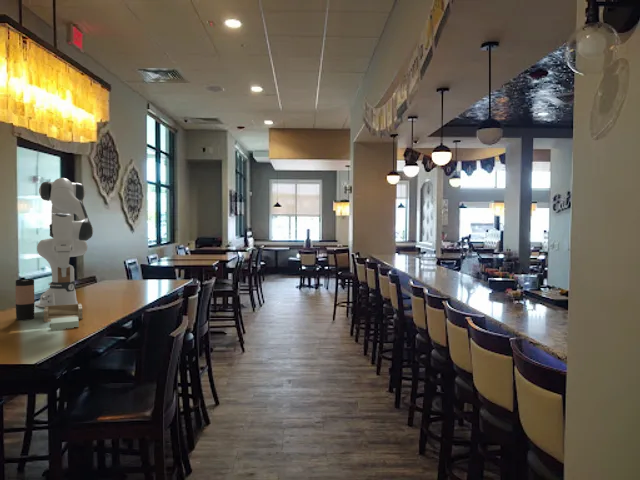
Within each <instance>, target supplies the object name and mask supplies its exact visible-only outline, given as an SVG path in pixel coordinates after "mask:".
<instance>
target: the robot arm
mask: <svg viewBox="0 0 640 480" xmlns="http://www.w3.org/2000/svg"><path fill="white" fill-rule="evenodd" d="M38 194H39V196H40V198H41V199H42V200H43V201H47V202H48V201H49V202H50V201H51V204H52V205H51V223H50V224H49V237H50V238H45V239H41V240H40V241H39V242H38V243H37V246H36V251H37V253H38V255H39V256H40V257H41V258H43V259H45V261H46V262H47V263H48V264H49V266H50V269H51V282H49V283H48V286H49V287H48V289H46V291H45V292H44V293H42V294H41V295H40V299H39V302H38V303H35V305H34V307H39V308H45V306H51V305H66V304H79V303H78V299H77V292H76V289H75V287H76V281H75V268H74V266H73V265H72V264H70V258H74V257H79V256H80V257H81V256H84V255H85V254H86V253H87V251H88V244H87V242H86V241H88V240H90V239H91V238H92V237H93V233H94V228H93V226H92V223H91V221H90V219H89V216H88V213H87V210H86V207H85V205H84V203H83V200H84V198H85V196H86V189H85V187H84V185H83V184H82V183H79V182H72V181H71V180H69V179H68V178H65V177H59V178H56V179H55V180H54V181H44V182H42V183H41V184H40V186H39V188H38ZM75 215H76V216H77V218H78V220H75ZM58 267H59V268H61V272H62V277H66V268H68V267H70V282H61V283H58Z"/></svg>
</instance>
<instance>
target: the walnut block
mask: <svg viewBox="0 0 640 480" xmlns="http://www.w3.org/2000/svg"><path fill="white" fill-rule="evenodd" d="M61 282H70V267H68V268H66V277H62V272H61V268H59V267H58V283H61Z"/></svg>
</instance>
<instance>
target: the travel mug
mask: <svg viewBox="0 0 640 480" xmlns="http://www.w3.org/2000/svg"><path fill="white" fill-rule="evenodd" d="M35 301H36V300H35V279H33V278H23V279H22V278H21V279H16V280H15V318H16V321H30V320H34V319H35V304H36V303H35Z"/></svg>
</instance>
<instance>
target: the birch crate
mask: <svg viewBox="0 0 640 480" xmlns="http://www.w3.org/2000/svg"><path fill="white" fill-rule="evenodd" d="M43 308H44V307H43ZM66 317H78V320H82V319H83V305H82V303H80V302H79V303H77V304H66V305H51V306H45V308H44V309H43V322H44V323H48V322H49V323H51V319H54V318H66Z"/></svg>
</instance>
